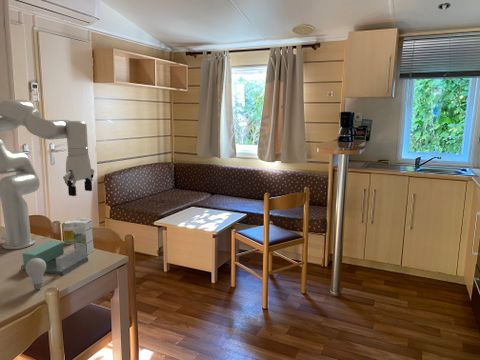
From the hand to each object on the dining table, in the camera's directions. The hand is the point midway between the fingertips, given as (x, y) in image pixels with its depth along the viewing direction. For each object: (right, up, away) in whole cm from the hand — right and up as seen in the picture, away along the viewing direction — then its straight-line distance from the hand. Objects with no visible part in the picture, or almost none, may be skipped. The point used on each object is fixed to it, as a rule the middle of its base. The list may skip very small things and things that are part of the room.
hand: (80, 193), depth 151 cm
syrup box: (-1, -26, +5) cm, 26 cm away
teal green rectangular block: (-11, -26, -7) cm, 29 cm away
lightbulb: (-3, -32, -27) cm, 42 cm away
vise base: (-6, -28, -8) cm, 30 cm away
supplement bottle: (-12, -23, +17) cm, 31 cm away
